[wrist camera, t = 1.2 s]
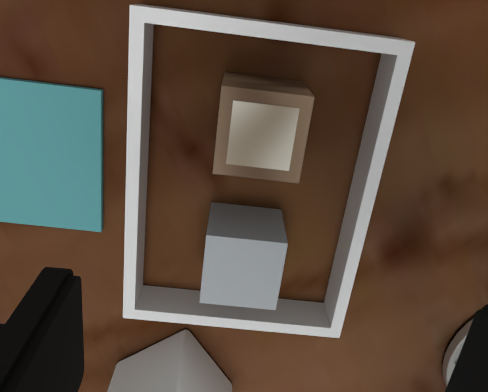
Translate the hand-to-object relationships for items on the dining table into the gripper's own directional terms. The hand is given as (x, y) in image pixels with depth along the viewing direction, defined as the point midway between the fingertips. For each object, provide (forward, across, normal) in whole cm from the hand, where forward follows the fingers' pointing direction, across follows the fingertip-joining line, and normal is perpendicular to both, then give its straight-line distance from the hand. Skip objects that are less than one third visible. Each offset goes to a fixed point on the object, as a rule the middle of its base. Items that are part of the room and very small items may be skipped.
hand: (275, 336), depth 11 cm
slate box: (+21, 0, +9) cm, 23 cm away
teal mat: (+21, +14, +4) cm, 26 cm away
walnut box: (+21, -1, 0) cm, 21 cm away
